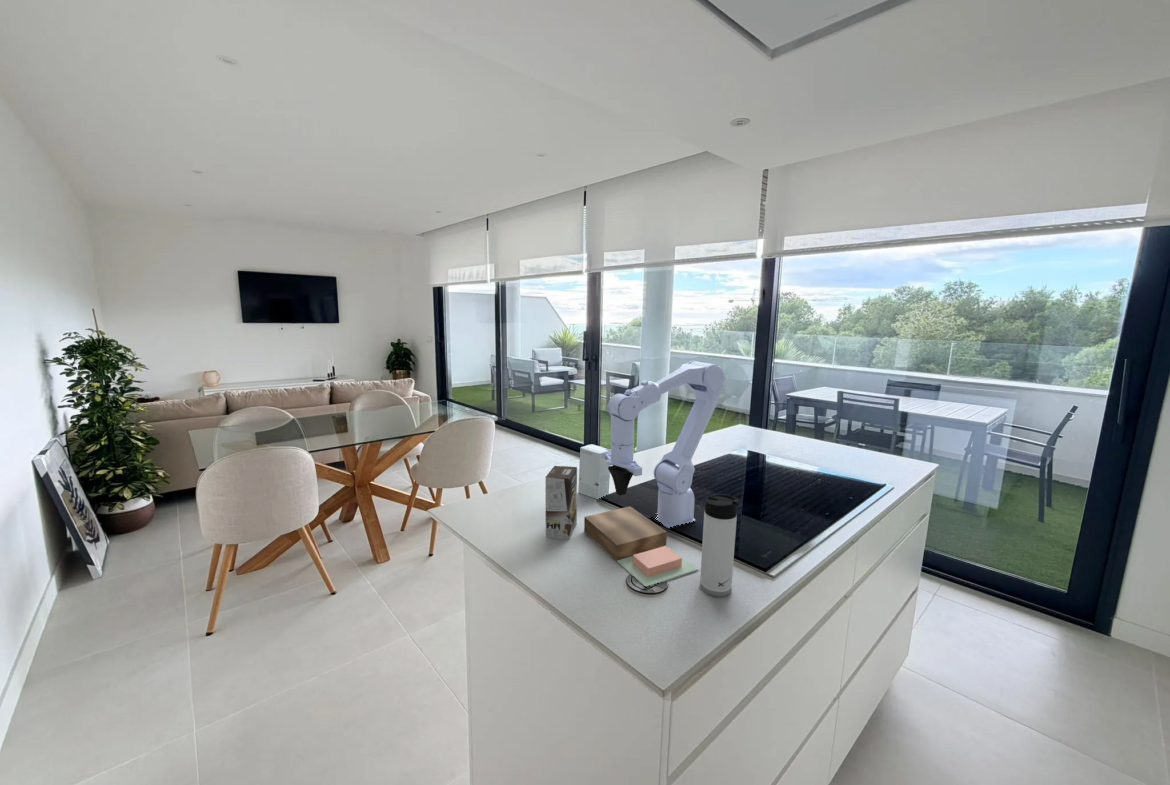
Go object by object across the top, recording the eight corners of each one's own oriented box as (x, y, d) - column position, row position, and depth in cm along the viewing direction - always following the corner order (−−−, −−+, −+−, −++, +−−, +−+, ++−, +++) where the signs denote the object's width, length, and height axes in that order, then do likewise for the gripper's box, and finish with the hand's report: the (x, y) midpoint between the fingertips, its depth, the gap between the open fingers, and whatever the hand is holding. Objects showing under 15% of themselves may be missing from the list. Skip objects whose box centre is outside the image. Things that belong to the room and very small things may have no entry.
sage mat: (666, 547, 110) (667, 546, 110) (697, 570, 101) (698, 568, 101) (617, 562, 104) (617, 560, 104) (645, 588, 94) (645, 586, 94)
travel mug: (728, 601, 90) (735, 506, 86) (695, 590, 94) (701, 499, 90) (736, 585, 95) (743, 495, 92) (705, 575, 99) (710, 488, 95)
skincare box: (577, 493, 142) (577, 447, 139) (590, 487, 147) (590, 443, 144) (598, 500, 137) (599, 453, 134) (611, 494, 141) (611, 448, 139)
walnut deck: (629, 520, 124) (630, 506, 124) (666, 547, 111) (666, 531, 110) (584, 531, 118) (584, 516, 117) (616, 561, 104) (617, 545, 103)
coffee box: (569, 540, 113) (569, 478, 110) (544, 537, 115) (544, 476, 112) (577, 523, 122) (578, 466, 119) (554, 521, 123) (554, 464, 120)
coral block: (682, 558, 101) (681, 566, 102) (665, 545, 106) (665, 553, 107) (648, 568, 97) (648, 577, 97) (633, 555, 102) (632, 563, 103)
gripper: (593, 437, 118) (593, 487, 120) (625, 452, 105) (624, 507, 108) (616, 433, 121) (615, 482, 124) (649, 448, 109) (648, 502, 111)
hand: (621, 493), depth 116 cm, fingers closed
